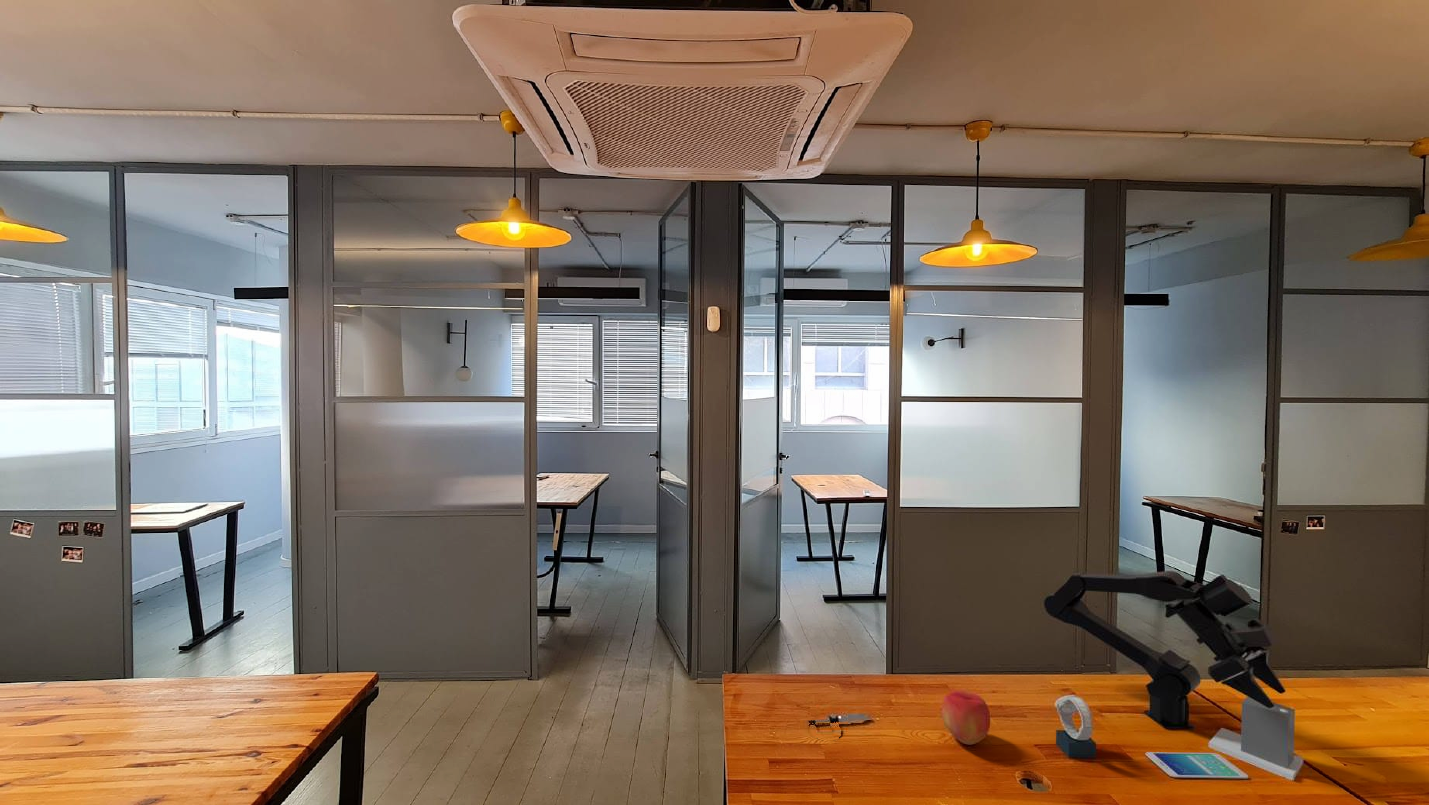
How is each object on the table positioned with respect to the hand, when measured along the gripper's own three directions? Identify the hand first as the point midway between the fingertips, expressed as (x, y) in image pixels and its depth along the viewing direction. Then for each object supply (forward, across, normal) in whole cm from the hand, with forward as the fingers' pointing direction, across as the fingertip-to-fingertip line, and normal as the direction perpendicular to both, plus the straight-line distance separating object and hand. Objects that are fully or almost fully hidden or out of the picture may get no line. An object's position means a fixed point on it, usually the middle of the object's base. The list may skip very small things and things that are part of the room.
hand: (1277, 699), depth 113 cm
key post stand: (+7, 0, +11) cm, 13 cm away
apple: (-19, -44, +38) cm, 61 cm away
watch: (-9, -29, +27) cm, 40 cm away
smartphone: (+3, -14, +16) cm, 22 cm away
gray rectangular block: (+7, 0, +10) cm, 12 cm away
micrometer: (-32, -63, +50) cm, 86 cm away
